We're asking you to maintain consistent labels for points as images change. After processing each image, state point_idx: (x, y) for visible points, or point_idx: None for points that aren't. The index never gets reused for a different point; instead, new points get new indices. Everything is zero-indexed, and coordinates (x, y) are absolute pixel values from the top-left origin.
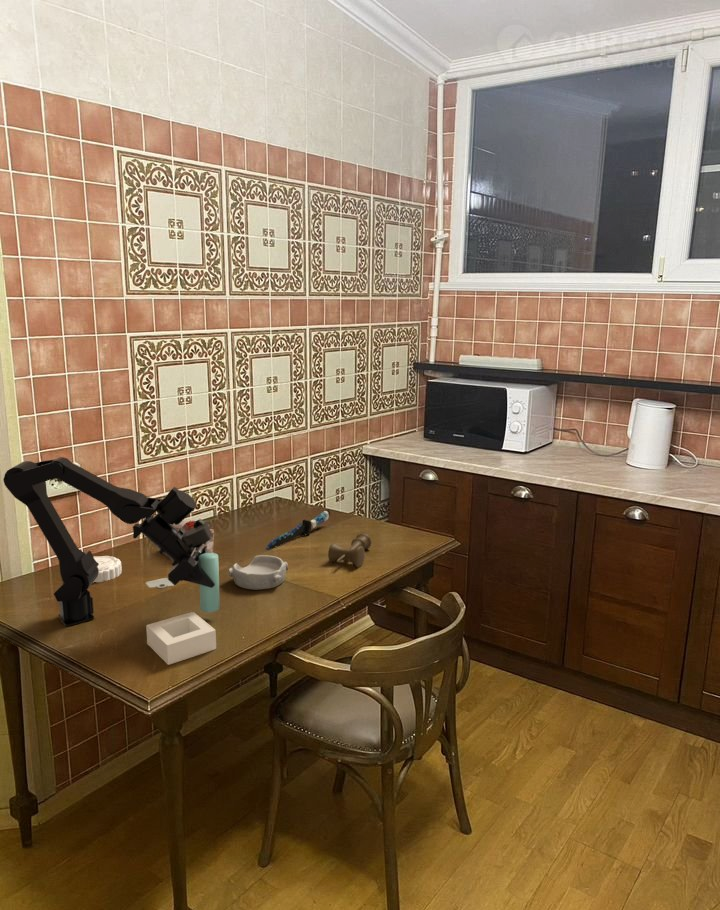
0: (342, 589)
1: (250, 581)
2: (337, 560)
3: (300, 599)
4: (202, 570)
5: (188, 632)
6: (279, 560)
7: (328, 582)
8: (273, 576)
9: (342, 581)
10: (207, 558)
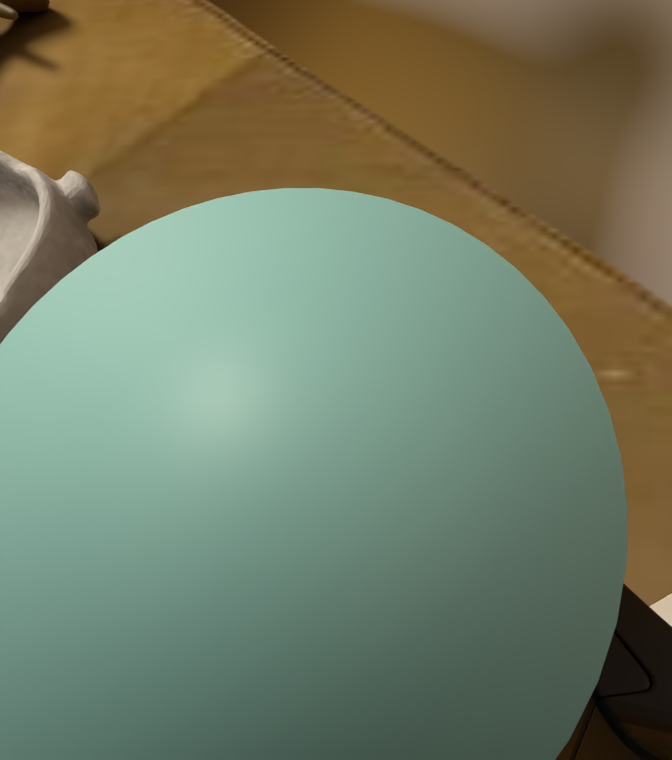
0: (201, 43)
1: None
2: (11, 9)
3: (243, 155)
4: (640, 665)
5: None
6: None
7: (126, 78)
8: (64, 198)
9: (136, 43)
10: (464, 482)
